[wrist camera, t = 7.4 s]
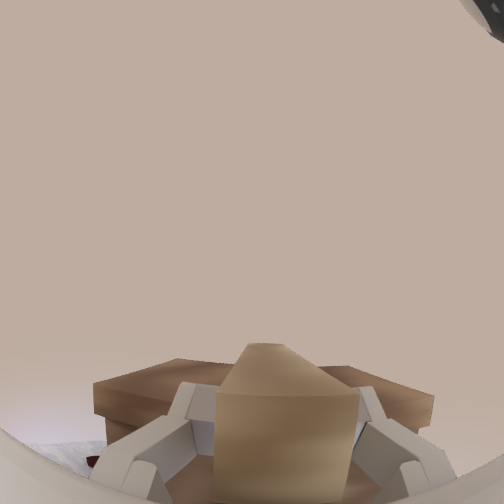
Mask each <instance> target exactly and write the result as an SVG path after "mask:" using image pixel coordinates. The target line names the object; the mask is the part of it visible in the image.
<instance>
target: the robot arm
mask: <svg viewBox="0 0 504 504" xmlns="http://www.w3.org/2000/svg"><path fill="white" fill-rule="evenodd" d="M460 2H461V3H462V5H463V6H464V8H465V9H466V10H467V12H468V13H469V14H470V15H471V16H472V17H473V18H474V19H475V20H476V21H477V22H478V23H479V24H480V25H481V26H482V27H483V28H485V29H486V30H487V32H488V33H489V34H490V35H491V36H493V37H494V38H496V39H497V40H499V41H501V42H502V43H504V0H460ZM219 387H220V386H213V385H206V384H199V383H198V384H196V383H190V382H184V381H183V382H182V383H181V384H180V385H179V388H178V390H177V393H176V395H175V397H174V400H173V402H172V405H171V407H170V410H169V412H168V415H167V416H165V415H162V416H160V417H159V418H157V419H155V420H154V421H152V422H150V423H148V424H147V425H145V426H143V427H141V428H140V429H138V430H136V431H134V432H133V433H131V434H129V435H127V436H125V437H124V438H122V439H120V440H118V441H116V442H114V443H112V444H110V445H109V446H107V447H105V448H104V450H103V451H102V453H101V455H100V457H99V459H98V461H97V463H96V464H95V466H94V468H93V470H92V472H91V474H90V476H89V477H88V479H87V478H85V477H83V476H81V475H79V474H76V473H74V472H72V471H70V470H68V469H66V468H64V467H62V466H60V465H58V464H57V463H55V462H53V461H51V460H49V459H47V458H46V457H44V456H42V455H40V454H39V453H37V452H35V451H34V450H32V449H31V448H29V447H27V446H26V445H24V444H23V443H21V442H20V441H18V440H17V439H15V438H14V437H12V436H11V435H10V434H8V433H7V432H5V431H4V430H3V429H1V428H0V504H173V500H172V498H171V496H170V494H169V492H168V490H167V488H166V486H165V483H166V482H167V481H168V480H170V479H171V478H172V477H173V476H174V475H175V474H177V473H178V472H179V471H180V470H181V469H182V468H184V467H185V466H186V465H187V464H188V463H189V462H190V461H191V460H193V459H194V458H195V457H196V456H197V454H200V455H209V456H214V428H215V402H216V392H217V390H218V389H219ZM352 389H354V390H355V391H357V392H359V393H360V401H359V410H358V417H357V425H356V432H355V438H354V444H353V450H352V456H351V459H352V460H353V461H354V462H355V463H356V464H357V465H358V466H359V467H360V468H361V469H362V470H363V471H364V472H365V473H366V474H367V475H368V476H369V477H370V478H371V479H373V480H374V481H375V482H376V483H377V484H378V485H379V486H380V487H381V488H382V489H381V490H380V492H379V493H378V494H377V495H376V496H375V497H374V498H373V499H372V500H371V502H370V504H504V454H502V455H501V456H499V457H497V458H496V459H494V460H492V461H491V462H489V463H487V464H485V465H483V466H482V467H480V468H478V469H476V470H474V471H472V472H470V473H468V474H466V475H463V476H461V477H459V478H457V477H456V475H455V473H454V471H453V469H452V467H451V464H450V462H449V460H448V458H447V456H446V454H445V452H444V451H443V450H442V449H441V448H439V447H437V446H435V445H434V444H432V443H430V442H429V441H427V440H425V439H423V438H422V437H420V436H419V435H417V434H415V433H414V432H412V431H411V430H409V429H407V428H406V427H404V426H403V425H401V424H399V423H398V422H396V421H395V420H393V419H392V418H391V419H387V417H386V415H385V412H384V410H383V408H382V406H381V403H380V401H379V399H378V397H377V395H376V392H375V390H374V388H373V387H372V386H364V387H357V388H352Z"/></svg>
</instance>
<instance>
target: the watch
mask: <svg viewBox="0 0 504 504" xmlns="http://www.w3.org/2000/svg"><path fill="white" fill-rule="evenodd" d="M99 457H100V456H90V457H87V458H86V459H87V463H88V466H90V467H94V466H95V464H96V463H97V461H98V459H99Z"/></svg>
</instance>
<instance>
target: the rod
mask: <svg viewBox="0 0 504 504" xmlns="http://www.w3.org/2000/svg"><path fill="white" fill-rule="evenodd" d="M359 401H360V393H359V392H357V391H355V390H354V389H352V388H350V387H349V386H347V385H345V384H344V383H342V382H340V381H339V380H337V379H336V378H334V377H332V376H331V375H329V374H328V373H326V372H324V371H323V370H321V369H320V368H318V367H317V366H315V365H313V364H312V363H310V362H309V361H307V360H306V359H304V358H303V357H301V356H299V355H298V354H296V353H295V352H293V351H292V350H290V349H289V348H287V347H286V346H284V345H283V344H269V343H268V344H267V343H248V345H247V347H246V348H245V350H244V351H243V353H242V354H241V356H240V357H239V359H238V360H237V362H236V363H235V365H234V366H233V368H232V369H231V371H230V372H229V374H228V375H227V377H226V378H225V380H224V381H223V383H222V384H221V386H220V387H219V389H218V390H217V392H216V402H215V428H214V465H213V502H216V503H226V504H322V503H331V502H339V501H342V497H343V493H344V489H345V485H346V480H347V476H348V471H349V466H350V461H351V456H352V450H353V444H354V438H355V432H356V425H357V417H358V410H359Z"/></svg>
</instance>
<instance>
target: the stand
mask: <svg viewBox="0 0 504 504" xmlns="http://www.w3.org/2000/svg"><path fill="white" fill-rule="evenodd" d="M234 365H235V364H224V363H213V362H203V361H194V360H186V359H174V360H171V361H168V362H165V363H162V364H159V365H156V366H152V367H149V368H146V369H143V370H139V371H136V372H133V373H129V374H126V375H122V376H119V377H115V378H112V379H108V380H104V381H100V382H97V383H93V393H94V394H93V395H94V413H95V414H97V415H100V416H103V417H105V420H106V421H105V422H106V435H107V446H109V445H110V444H112V443H114V442H116V441H118V440H120V439H122V438H124V437H125V436H127V435H129V434H131V433H133V432H134V431H136V430H138V429H140V428H141V427H143V426H145V425H147V424H148V423H150V422H152V421H154V420H155V419H157V418H159V417H160V416H162V415H165V416H167V415H168V412H169V410H170V407H171V405H172V402H173V400H174V397H175V395H176V393H177V390H178V388H179V385H180V384H181V383H182V382H183V381H184V382H190V383H196V384H198V383H199V384H206V385H213V386H221V384H222V383H223V381H224V380H225V378H226V377H227V375H228V374H229V372H230V371H231V369H232V368H233V366H234ZM318 368H320V369H321V370H323V371H324V372H326V373H328V374H329V375H331V376H332V377H334V378H336V379H337V380H339V381H340V382H342V383H344V384H345V385H347V386H349V387H350V388H357V387H364V386H372V387H373V388H374V390H375V392H376V395H377V397H378V399H379V401H380V403H381V406H382V408H383V410H384V412H385V415H386V417H387V419H391V418H392V419H393V420H395V421H396V422H398V423H399V424H401V425H403V426H404V427H406V428H407V429H409V430H411V431H412V432H414V433H415V434H417V435H418V430H419V428H422V427H426V426H429V425H430V420H431V415H432V408H433V402H434V396H433V395H430V394H427V393H424V392H421V391H418V390H415V389H411V388H408V387H405V386H403V385H399V384H396V383H393V382H391V381H388V380H385V379H382V378H380V377H377V376H374V375H371V374H369V373H366V372H363V371H360V370H358V369H355V368H353V367H350V366H329V367H328V366H326V367H318ZM213 465H214V456H209V455H200V454H197V456H196V457H195V458H194V459H193V460H191V461H190V462H189V463H188V464H187V465H186V466H185V467H184V468H182V469H181V470H180V471H179V472H178V473H177V474H175V475H174V476H173V477H172V478H171V479H170V480H168V481H167V482H166V483H165V486H166V488H167V490H168V492H169V494H170V496H171V498H172V500H173V504H226V503H216V502H213ZM381 489H382V488H381V487H380V486H379V485H378V484H377V483H376V482H375V481H374V480H373V479H371V478H370V477H369V476H368V475H367V474H366V473H365V472H364V471H363V470H362V469H361V468H360V467H359V466H358V465H357V464H356V463H355V462H354V461H353V460H352V459H351V461H350V466H349V471H348V476H347V480H346V485H345V489H344V493H343V497H342V501H339V502H331V503H322V504H370V502H371V500H372V499H373V498H374V497H375V496H376V495H377V494H378V493H379V492H380V490H381Z"/></svg>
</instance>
